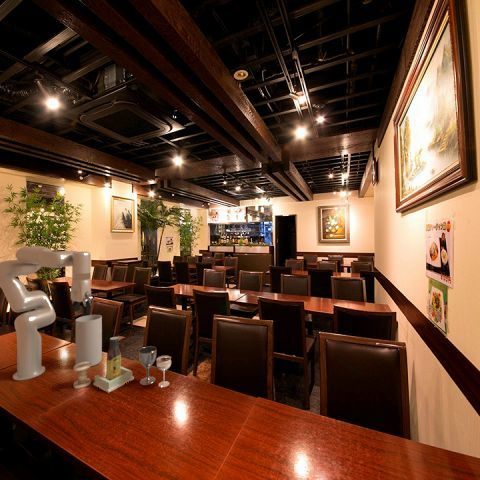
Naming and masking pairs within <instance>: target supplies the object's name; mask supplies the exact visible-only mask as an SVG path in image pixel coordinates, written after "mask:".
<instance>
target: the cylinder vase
mask: <svg viewBox="0 0 480 480" xmlns="http://www.w3.org/2000/svg"><path fill="white" fill-rule="evenodd" d="M102 319H103V316H102V315H101V314H87V315H82V316H80V317H78V318H76V319H75V365H76V364H79V363H82V362H90V363H91V367H94V366H97V365H99V364H100V363H101V361H102V360H103V356H102V355H103V353H102V352H103V351H102V350H103V348H102V347H103V323H102V321H103V320H102ZM91 367H90V368H91Z"/></svg>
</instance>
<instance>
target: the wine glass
mask: <svg viewBox="0 0 480 480" xmlns="http://www.w3.org/2000/svg"><path fill="white" fill-rule="evenodd" d="M138 358H139V361H140V364H141V365H142V366H143V367H144V368H145V369H146V377H144V378H142V379H140V380H139V384H140V385H143V386H147V385H152V384H154V382H156V380H157V379H156V377H154V376H150V373H149V372H150V368H151V366H152V365H153V364H154V363H155V361H156V359H157V347H156V346H152V345H150V346H145V347H144V346H143V347H141V348H140V349H138Z"/></svg>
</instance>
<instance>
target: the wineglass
mask: <svg viewBox="0 0 480 480" xmlns="http://www.w3.org/2000/svg"><path fill="white" fill-rule="evenodd" d="M171 359H172V356H170V355H161V356H158V357H156V363H155V364H156V367H157V369H158V370H160V371H162V373H163V374H162V375H163V376H162V379H163V381H161V382H159V383H158V387H159V388H165V387H168V386H169V385H170V382H169V381H167V380H166V381H165V373H166V371H167V370H169V368H170V367H171V365H172V360H171Z"/></svg>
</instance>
